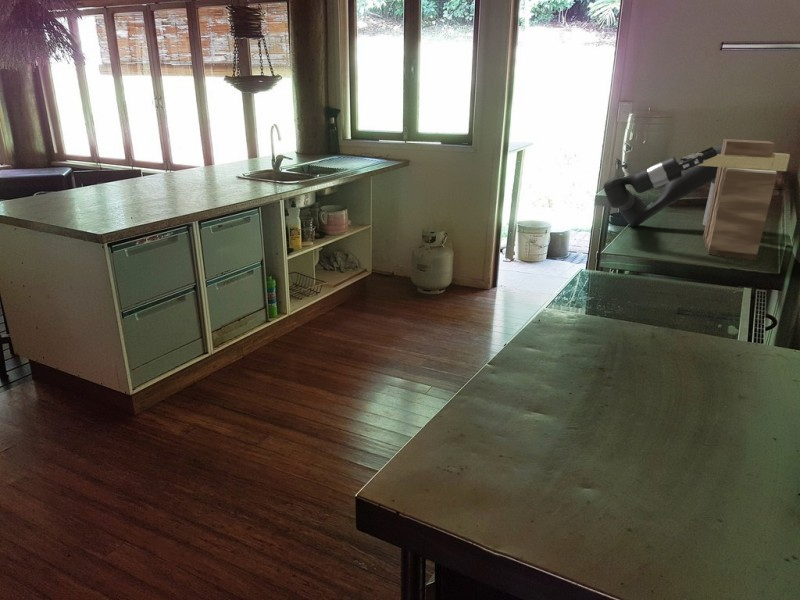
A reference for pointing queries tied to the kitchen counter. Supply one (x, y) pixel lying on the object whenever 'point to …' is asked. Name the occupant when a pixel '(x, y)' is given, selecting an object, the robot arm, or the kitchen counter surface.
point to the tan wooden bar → (749, 162)
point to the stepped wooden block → (739, 203)
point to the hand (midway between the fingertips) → (715, 150)
